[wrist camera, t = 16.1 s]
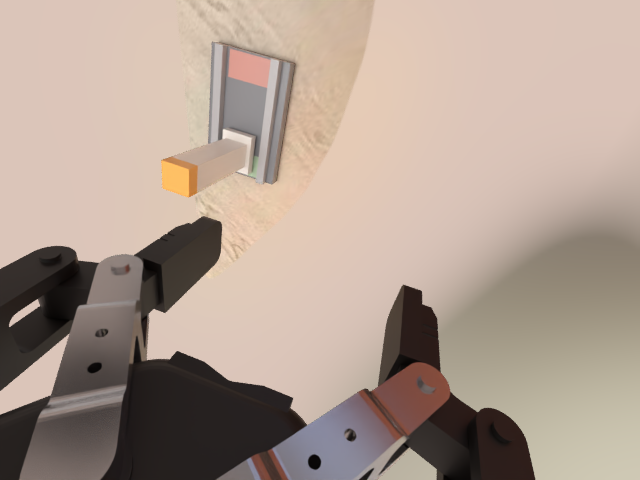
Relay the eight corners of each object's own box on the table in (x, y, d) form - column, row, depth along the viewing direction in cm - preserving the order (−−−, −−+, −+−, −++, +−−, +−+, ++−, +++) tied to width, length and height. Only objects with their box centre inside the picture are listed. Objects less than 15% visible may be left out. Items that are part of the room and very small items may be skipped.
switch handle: (227, 127, 41) (156, 148, 30) (255, 136, 41) (193, 160, 30) (225, 164, 44) (158, 195, 33) (251, 172, 43) (193, 207, 32)
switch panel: (218, 42, 38) (207, 41, 36) (295, 63, 37) (287, 63, 35) (213, 160, 46) (203, 164, 44) (276, 181, 45) (269, 186, 43)
